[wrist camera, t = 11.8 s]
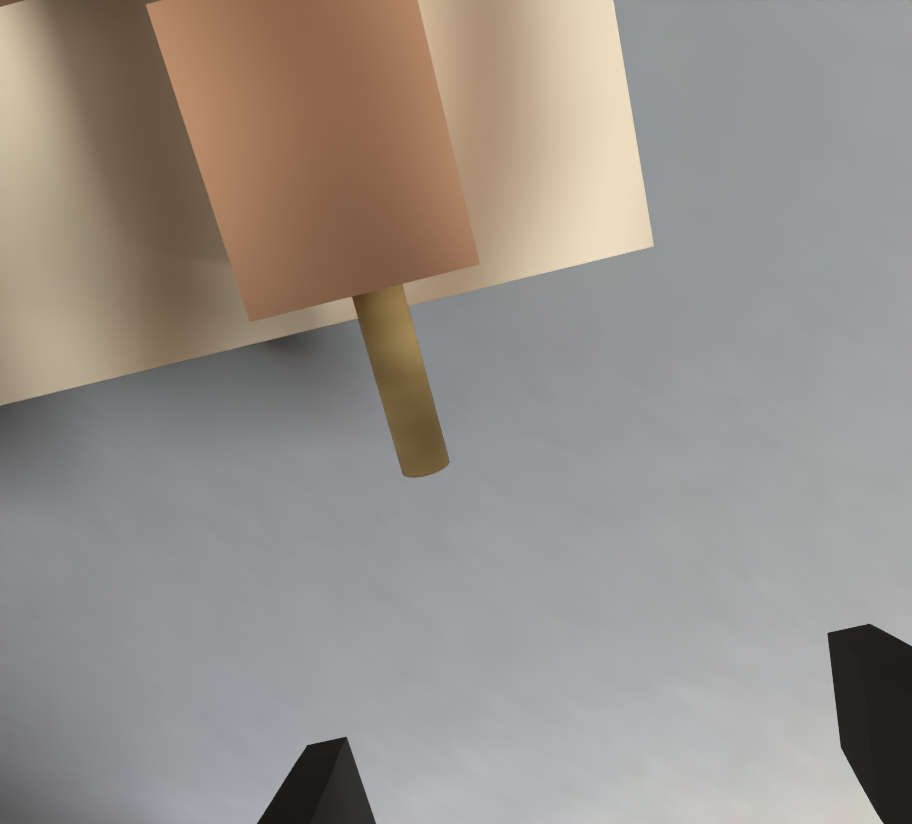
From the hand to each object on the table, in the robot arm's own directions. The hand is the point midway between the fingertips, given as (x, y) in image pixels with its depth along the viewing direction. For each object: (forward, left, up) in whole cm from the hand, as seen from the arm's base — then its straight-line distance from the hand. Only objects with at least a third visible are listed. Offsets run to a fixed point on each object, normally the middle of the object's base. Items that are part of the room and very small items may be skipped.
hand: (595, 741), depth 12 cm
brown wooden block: (-2, +7, -9) cm, 11 cm away
